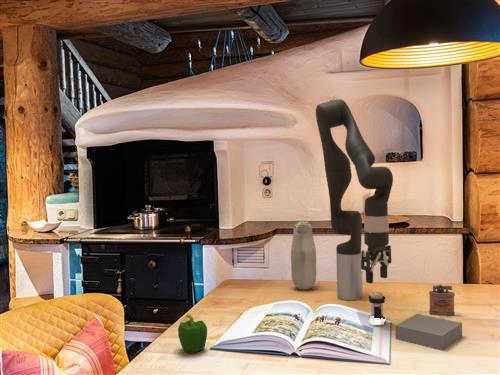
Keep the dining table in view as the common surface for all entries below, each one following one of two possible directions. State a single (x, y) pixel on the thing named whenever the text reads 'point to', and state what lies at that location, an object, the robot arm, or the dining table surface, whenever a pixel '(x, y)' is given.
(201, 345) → the bell pepper
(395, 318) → the dining table surface
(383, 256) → the robot arm
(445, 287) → the lighter
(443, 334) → the slate stand
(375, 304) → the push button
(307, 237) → the grey bottle
